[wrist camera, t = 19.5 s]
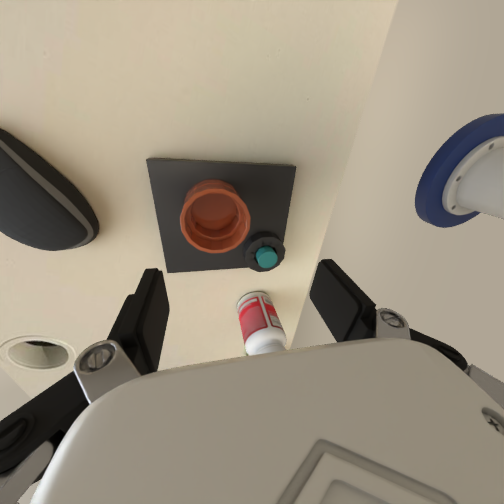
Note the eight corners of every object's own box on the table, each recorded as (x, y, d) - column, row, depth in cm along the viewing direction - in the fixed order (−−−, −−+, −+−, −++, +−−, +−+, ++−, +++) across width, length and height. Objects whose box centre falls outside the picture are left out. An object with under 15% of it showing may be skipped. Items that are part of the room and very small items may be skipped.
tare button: (275, 245, 26) (278, 251, 25) (272, 261, 28) (276, 267, 26) (256, 246, 26) (259, 252, 25) (254, 262, 27) (257, 269, 26)
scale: (292, 164, 24) (302, 168, 22) (276, 260, 31) (283, 271, 29) (149, 157, 20) (141, 161, 18) (168, 267, 28) (165, 280, 25)
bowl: (243, 179, 22) (252, 189, 18) (241, 233, 26) (248, 251, 22) (180, 177, 21) (175, 188, 17) (186, 235, 24) (184, 254, 21)
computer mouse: (4, 110, 17) (-45, 106, 13) (115, 228, 23) (101, 244, 20) (-66, 148, 17) (-132, 153, 14) (64, 253, 24) (42, 274, 20)
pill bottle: (233, 315, 36) (245, 379, 27) (240, 289, 33) (255, 352, 24) (265, 315, 38) (286, 375, 28) (274, 290, 35) (301, 348, 25)
